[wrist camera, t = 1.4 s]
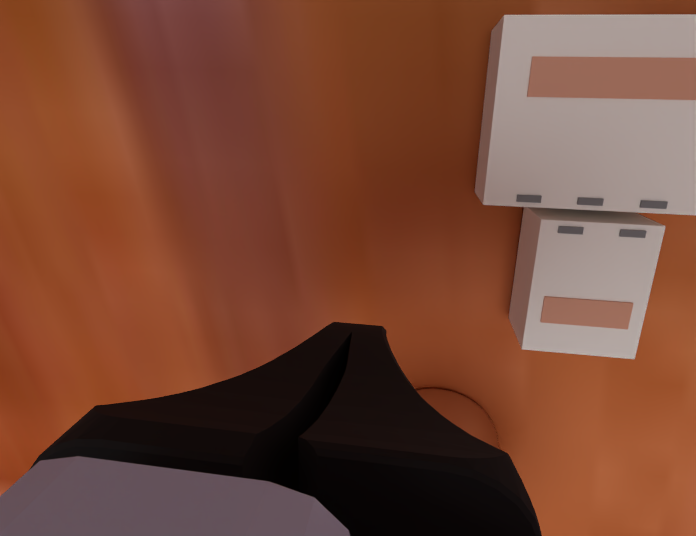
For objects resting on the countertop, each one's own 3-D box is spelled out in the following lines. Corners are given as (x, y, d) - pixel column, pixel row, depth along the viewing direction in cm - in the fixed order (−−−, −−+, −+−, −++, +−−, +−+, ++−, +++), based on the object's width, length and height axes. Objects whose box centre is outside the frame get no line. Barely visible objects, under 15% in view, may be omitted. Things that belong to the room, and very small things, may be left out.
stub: (629, 209, 19) (666, 226, 16) (605, 325, 20) (635, 360, 17) (524, 204, 19) (541, 220, 16) (508, 317, 21) (522, 350, 18)
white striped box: (889, 31, 16) (993, 12, 13) (830, 208, 18) (909, 226, 15) (491, 30, 18) (504, 14, 15) (474, 191, 20) (483, 205, 17)
